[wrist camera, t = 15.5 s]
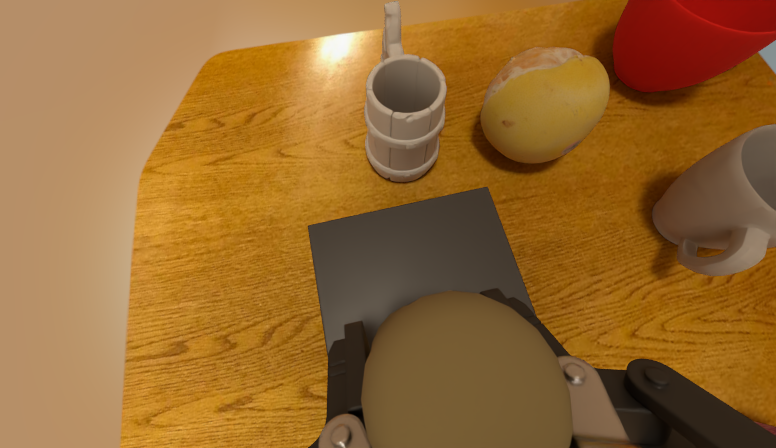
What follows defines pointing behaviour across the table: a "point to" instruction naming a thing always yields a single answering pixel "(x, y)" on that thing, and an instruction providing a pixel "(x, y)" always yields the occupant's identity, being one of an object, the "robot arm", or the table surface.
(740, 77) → the table surface
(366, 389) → the pepper shaker
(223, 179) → the table surface
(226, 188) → the table surface
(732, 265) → the mug
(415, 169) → the mug
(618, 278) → the table surface
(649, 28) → the ceramic cup
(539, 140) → the fruit
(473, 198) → the small storage chest
